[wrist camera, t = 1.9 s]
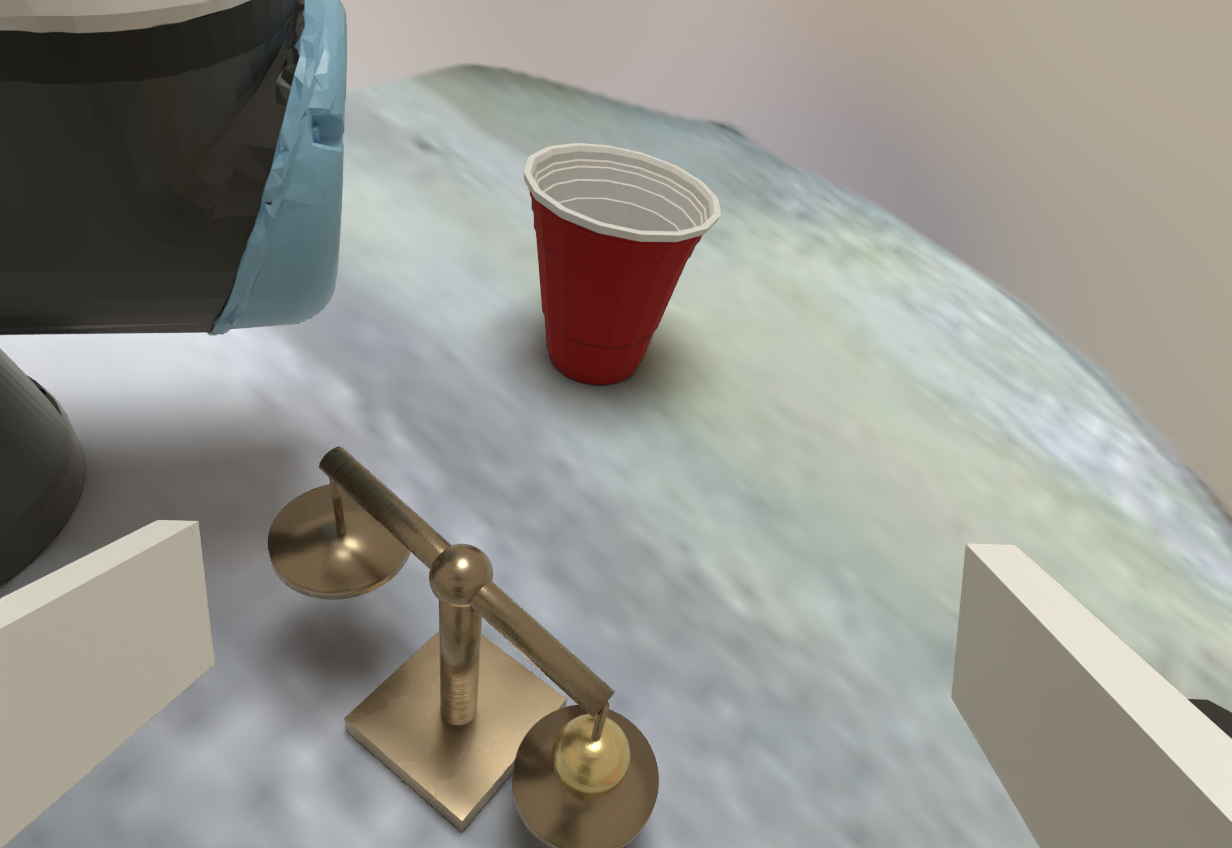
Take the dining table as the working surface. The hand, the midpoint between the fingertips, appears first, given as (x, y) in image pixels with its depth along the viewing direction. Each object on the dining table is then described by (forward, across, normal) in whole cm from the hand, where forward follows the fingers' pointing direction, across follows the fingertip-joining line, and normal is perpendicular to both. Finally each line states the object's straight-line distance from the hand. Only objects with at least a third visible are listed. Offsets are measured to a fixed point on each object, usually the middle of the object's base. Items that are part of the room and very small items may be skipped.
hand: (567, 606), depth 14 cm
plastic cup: (+38, -4, -1) cm, 38 cm away
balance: (+15, -7, -12) cm, 21 cm away
